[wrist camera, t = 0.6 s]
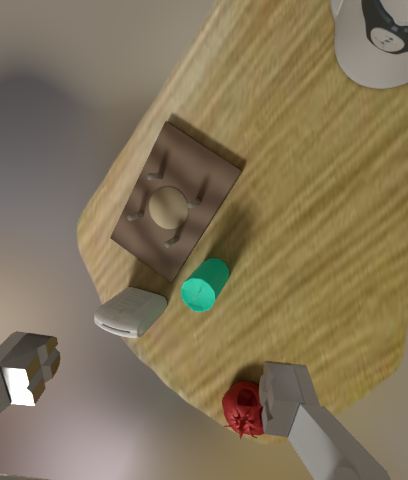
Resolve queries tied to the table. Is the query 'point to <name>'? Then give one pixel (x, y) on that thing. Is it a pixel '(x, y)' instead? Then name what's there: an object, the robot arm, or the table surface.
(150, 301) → the photo printer
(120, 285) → the table surface
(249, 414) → the pomegranate
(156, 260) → the candle stand
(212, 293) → the candle
